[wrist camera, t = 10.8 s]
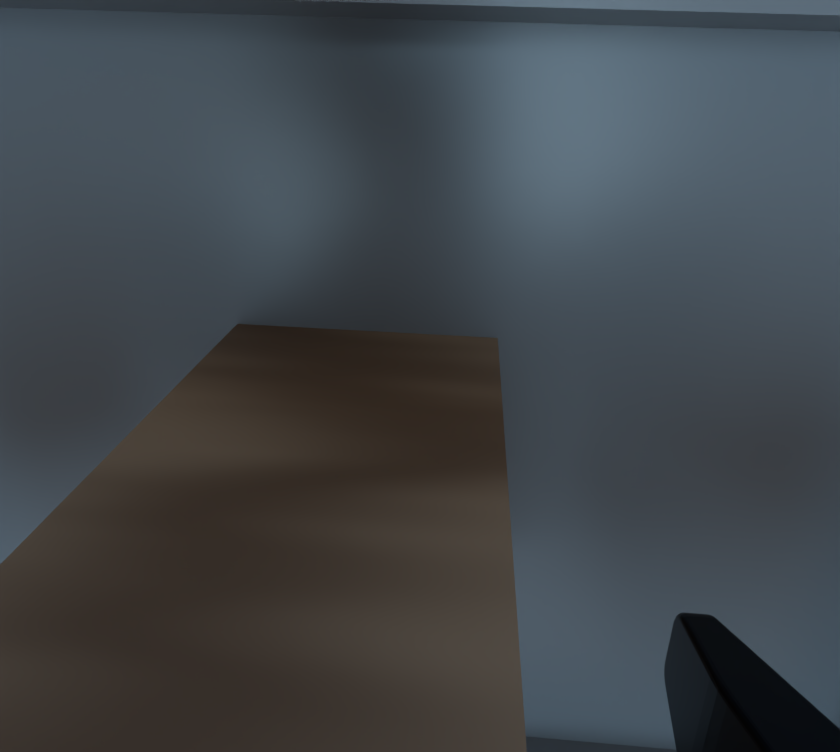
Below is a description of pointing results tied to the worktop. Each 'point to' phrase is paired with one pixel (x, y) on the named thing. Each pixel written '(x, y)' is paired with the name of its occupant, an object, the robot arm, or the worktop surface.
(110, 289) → the tray
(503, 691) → the brown rectangular block
